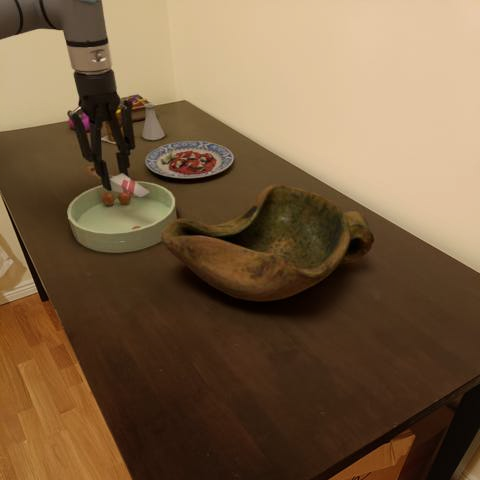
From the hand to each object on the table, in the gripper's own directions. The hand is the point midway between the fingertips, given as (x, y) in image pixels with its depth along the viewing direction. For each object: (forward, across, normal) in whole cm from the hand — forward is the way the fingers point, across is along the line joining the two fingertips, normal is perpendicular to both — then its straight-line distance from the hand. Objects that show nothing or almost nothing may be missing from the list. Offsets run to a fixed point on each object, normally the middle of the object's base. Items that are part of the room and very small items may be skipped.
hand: (116, 185), depth 97 cm
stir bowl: (+10, 0, -1) cm, 10 cm away
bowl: (+9, +12, -40) cm, 43 cm away
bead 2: (+7, +4, +7) cm, 11 cm away
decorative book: (+10, +42, +65) cm, 78 cm away
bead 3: (+7, -2, -10) cm, 12 cm away
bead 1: (+7, +1, +9) cm, 11 cm away
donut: (+10, +23, +64) cm, 69 cm away
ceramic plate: (+10, +32, +16) cm, 36 cm away
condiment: (+10, +25, +49) cm, 56 cm away
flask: (+10, +36, +42) cm, 56 cm away
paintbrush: (+1, 0, 0) cm, 1 cm away
